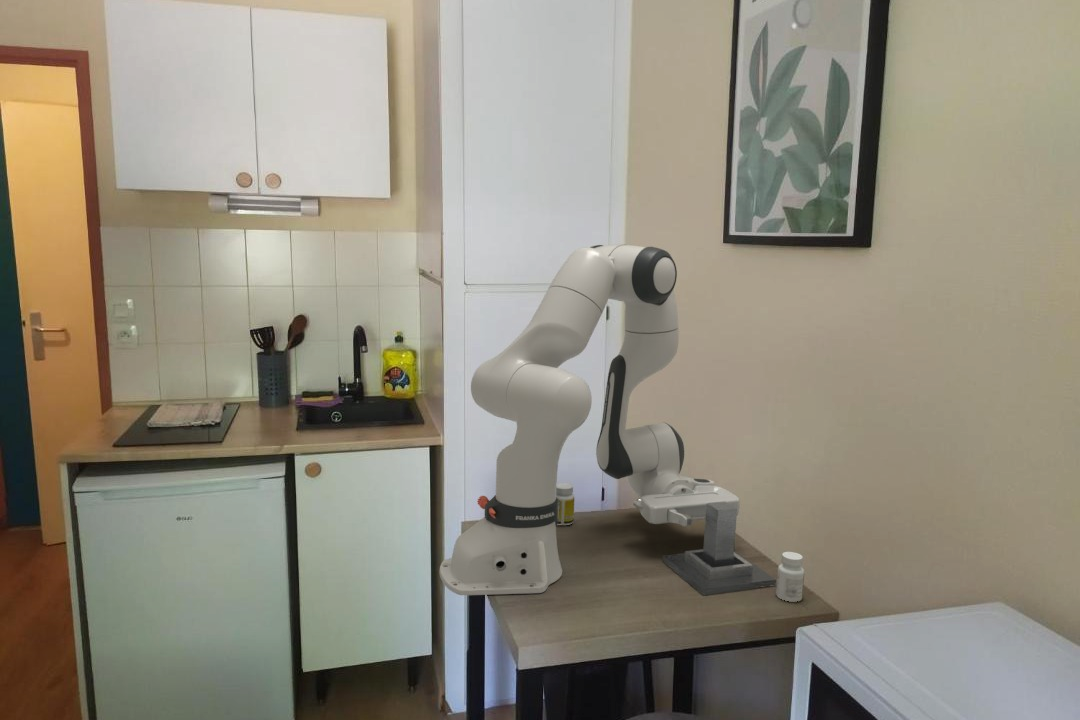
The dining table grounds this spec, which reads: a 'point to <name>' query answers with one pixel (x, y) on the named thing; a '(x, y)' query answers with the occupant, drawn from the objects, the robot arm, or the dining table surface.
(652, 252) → the robot arm
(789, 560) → the pill bottle
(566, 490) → the supplement bottle
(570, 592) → the dining table surface
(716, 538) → the steel bar
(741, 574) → the block
